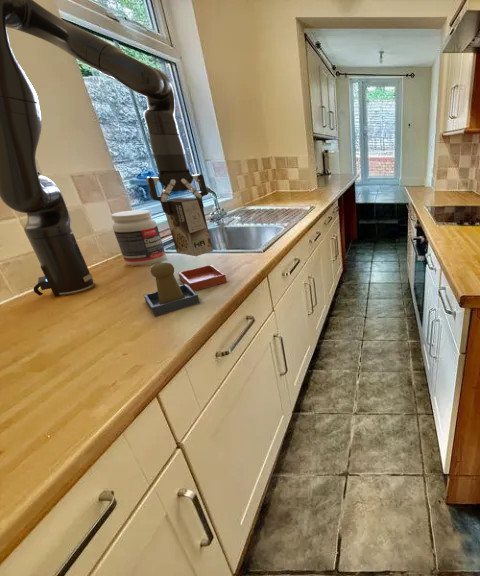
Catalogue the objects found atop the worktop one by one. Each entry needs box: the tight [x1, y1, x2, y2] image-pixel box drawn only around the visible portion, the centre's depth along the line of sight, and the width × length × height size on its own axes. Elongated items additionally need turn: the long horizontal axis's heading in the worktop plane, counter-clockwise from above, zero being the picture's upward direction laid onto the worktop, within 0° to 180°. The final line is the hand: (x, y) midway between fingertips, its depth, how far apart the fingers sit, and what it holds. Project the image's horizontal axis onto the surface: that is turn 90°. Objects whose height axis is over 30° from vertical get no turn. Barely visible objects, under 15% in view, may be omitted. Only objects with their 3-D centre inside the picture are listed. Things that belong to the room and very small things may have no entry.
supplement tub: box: [110, 209, 167, 267], centre depth 116 cm, size 13×13×18 cm
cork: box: [150, 261, 185, 305], centre depth 86 cm, size 6×6×11 cm
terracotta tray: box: [177, 264, 228, 292], centre depth 102 cm, size 10×13×3 cm
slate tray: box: [143, 283, 201, 317], centre depth 88 cm, size 11×11×3 cm
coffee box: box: [164, 196, 214, 257], centre depth 96 cm, size 9×6×16 cm
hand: (184, 212), depth 94 cm, fingers closed on coffee box, 8 cm apart
